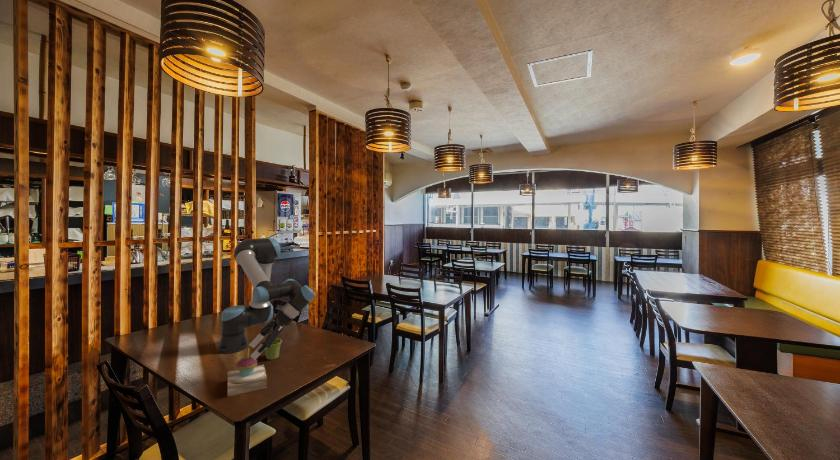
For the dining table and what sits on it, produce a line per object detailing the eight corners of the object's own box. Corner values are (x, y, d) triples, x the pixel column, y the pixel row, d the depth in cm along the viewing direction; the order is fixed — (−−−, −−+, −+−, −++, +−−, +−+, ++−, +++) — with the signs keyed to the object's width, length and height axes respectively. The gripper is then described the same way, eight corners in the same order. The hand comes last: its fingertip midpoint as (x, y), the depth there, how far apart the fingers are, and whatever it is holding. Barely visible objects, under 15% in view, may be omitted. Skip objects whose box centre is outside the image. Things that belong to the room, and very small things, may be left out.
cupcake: (241, 369, 147) (241, 344, 146) (260, 369, 148) (260, 343, 147) (232, 379, 138) (232, 352, 138) (252, 378, 139) (252, 351, 139)
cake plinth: (227, 380, 146) (227, 370, 146) (263, 373, 154) (263, 363, 154) (227, 396, 134) (227, 385, 133) (266, 387, 141) (266, 376, 141)
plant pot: (263, 362, 165) (262, 346, 164) (262, 355, 173) (262, 340, 173) (282, 359, 169) (282, 343, 169) (281, 352, 177) (281, 337, 177)
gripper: (297, 327, 141) (260, 367, 134) (289, 312, 163) (256, 346, 156) (285, 317, 138) (246, 358, 131) (278, 303, 160) (244, 337, 153)
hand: (251, 351), depth 144 cm, fingers open, 13 cm apart
